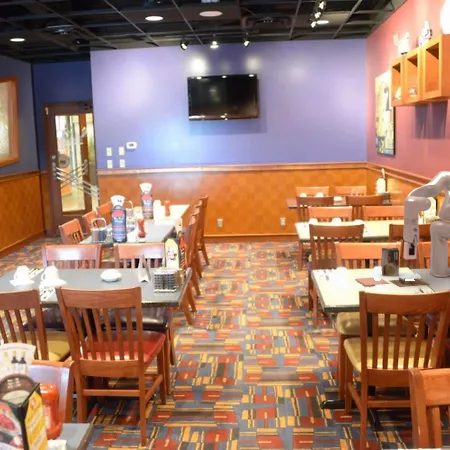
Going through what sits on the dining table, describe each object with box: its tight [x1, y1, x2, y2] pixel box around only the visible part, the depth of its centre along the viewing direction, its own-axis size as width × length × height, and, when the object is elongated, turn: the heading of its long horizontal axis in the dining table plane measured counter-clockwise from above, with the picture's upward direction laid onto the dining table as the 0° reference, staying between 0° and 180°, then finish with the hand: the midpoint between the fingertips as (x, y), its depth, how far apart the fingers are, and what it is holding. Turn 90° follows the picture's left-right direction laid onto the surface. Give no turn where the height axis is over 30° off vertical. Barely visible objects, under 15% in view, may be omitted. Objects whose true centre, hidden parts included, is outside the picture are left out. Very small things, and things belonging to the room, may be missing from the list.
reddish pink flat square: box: [354, 276, 391, 288], centre depth 338 cm, size 14×14×1 cm
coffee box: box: [381, 247, 400, 277], centre depth 350 cm, size 9×6×16 cm
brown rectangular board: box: [388, 277, 431, 288], centre depth 333 cm, size 18×14×3 cm
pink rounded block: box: [403, 241, 418, 260], centre depth 330 cm, size 6×3×9 cm, turn 101°
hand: (410, 254), depth 330 cm, fingers closed on pink rounded block, 2 cm apart
